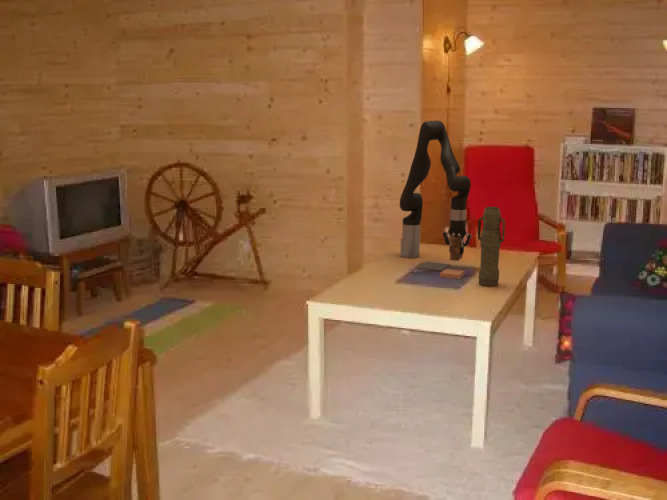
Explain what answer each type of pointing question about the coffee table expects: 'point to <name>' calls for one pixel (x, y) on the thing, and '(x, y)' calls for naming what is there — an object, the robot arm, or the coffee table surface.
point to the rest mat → (433, 266)
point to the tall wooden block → (455, 249)
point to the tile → (452, 273)
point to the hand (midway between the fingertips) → (456, 253)
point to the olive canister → (490, 246)
